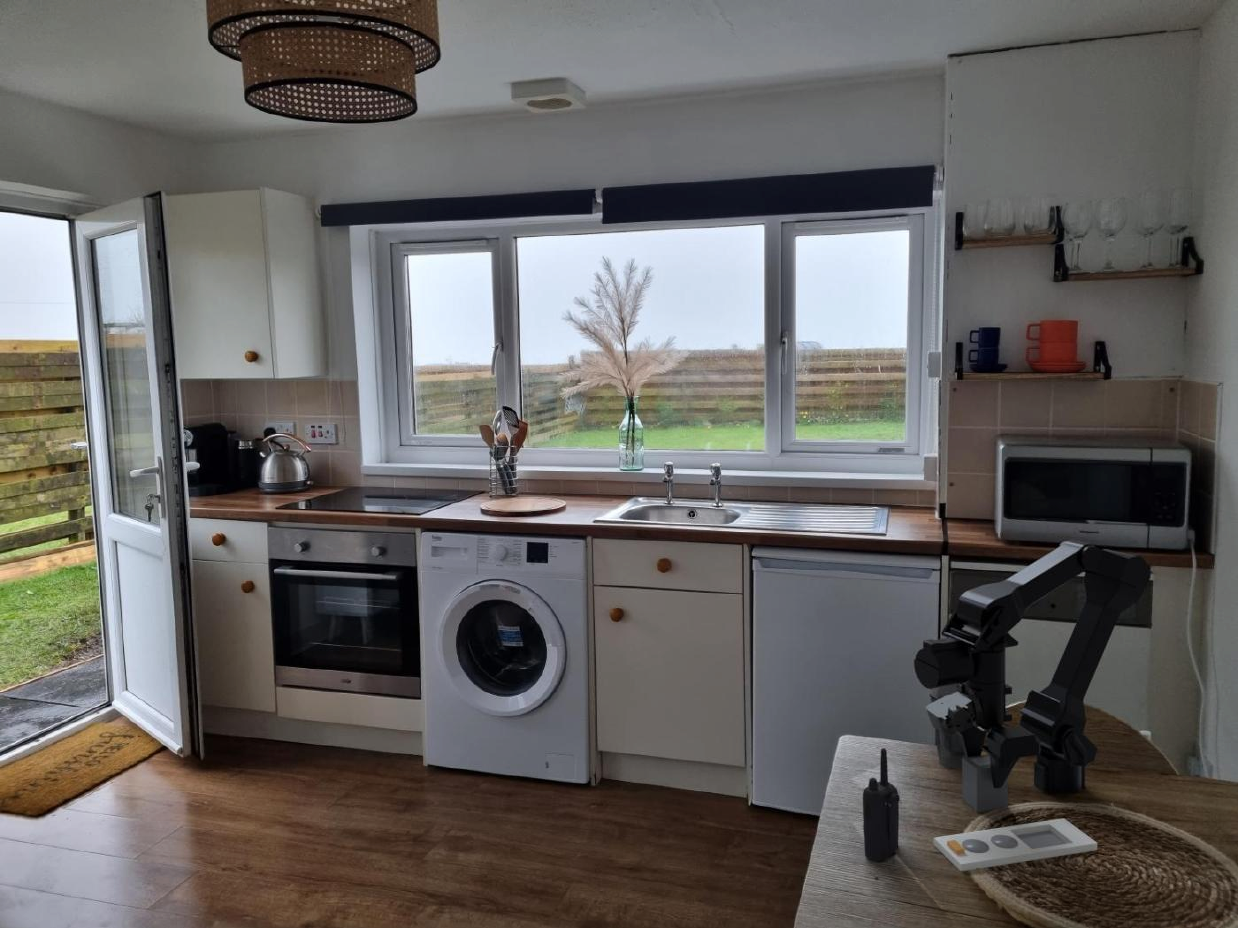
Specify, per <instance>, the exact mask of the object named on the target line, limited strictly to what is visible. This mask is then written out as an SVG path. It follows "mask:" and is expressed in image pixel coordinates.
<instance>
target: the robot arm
mask: <svg viewBox="0 0 1238 928" xmlns="http://www.w3.org/2000/svg"><path fill="white" fill-rule="evenodd" d="M1082 573H1084V576H1083V580H1082V583H1083V588H1084V594H1085V602H1084V604H1083V607H1082V609H1081V611H1080V614H1079V615H1078V618H1077V621H1076V623H1075V625H1074V627H1073V630H1072V632H1071V635H1070V637H1069V639H1068V641H1067V644H1066V646H1065V648H1064V650H1063V653H1062V655H1061V658H1060V660H1059V662H1058V665H1057V668H1056V669H1055V671H1054V674H1053V676H1052V679H1051V681H1050V682H1049V684H1048V685H1047V686H1046V687H1045V688H1043V689H1042V690H1040V691H1037V690H1035V689H1032V690H1030V691H1029V692H1028V694H1027V698H1026V701H1025V704H1024V706H1023V707H1022V708H1021V710H1019V713H1020V714H1021V717H1020V721H1019V722H1020V723H1019V725H1016V726H1005V725H1004V724H1005V722H1006V723H1007V722H1012V721H1013V714H1012V713H1011V712H1009V711H1008V710H1007V709H1006V707H1007V705H1006V701H1007V700H1006V699H1007V697H1006V696H1007V695H1012V694H1013V687H1012V686H1010V685H1009V684H1007V683H1006V682H1007V680H1006V674H1007V673H1006V671H1007V670H1006V668H1007V667H1006V661H1007V660H1006V657H1007V656H1006V655H1007V654H1006V648H1007V649H1008V648H1012V647H1017V646H1019V641H1018V640H1017V639H1015V638H1014V637H1013V636H1012V635H1011V634H1010V633H1009V632H1010V631H1011V630H1012V629H1014V628H1015V627H1016V626H1017V625H1018V624H1019V623H1020V622H1021V620H1022V619H1023V617H1024V614H1025V611H1026V610H1027V609H1028V608H1029V607H1030V606H1031V605H1033V604H1035V603H1037V602H1038V601H1040V600H1041V599H1043V598H1044V597H1046V596H1047V595H1050V593H1053V592H1054V591H1055V590H1057V589H1059V588H1060V587H1061V586H1064V585H1065V584H1067V583H1068V582H1070V581H1072V580H1074V578H1076V577H1078V576H1080V574H1082ZM1151 575H1152V572H1151V570H1150V569H1149V564H1148V562H1147V561H1146V559H1145V558H1143V557H1141V556H1138V555H1134V554H1130V553H1125V552H1122V551H1121V552H1120V551H1115V550H1111V549H1106V548H1105V549H1104V548H1103V549H1102V548H1099V547H1096V546H1095V545H1094V544H1092V543H1088V542H1083V541H1079V540H1076V539H1075V540H1074V539H1068V540H1065V541H1062V542H1061V543H1060V544H1059V546H1058V547H1057V548H1056V549H1054V550H1053V551H1050V552H1049V553H1047V554H1046V555H1044V556H1042V557H1041V558H1040V559H1038V560H1036V561H1034V562H1033V563H1031V564H1029V565H1028V566H1026V567H1025V568H1023V569H1022V570H1020V571H1018V572H1016V573H1014V574H1013V575H1012V576H1010V577H1008V578H1006V579H1005V580H1002V581H999V582H993V583H992V582H991V583H987V584H982V585H979V586H977V587H974V588H972V589H969V590H967V591H965V592H964V593H962V594H961V595H960V597H959V598H958V599H957V600H958V603H957V605H956V606H955V608H954V610H953V612H952V614H951V615H950V617H949V619H948V621H947V622H946V624H945V625H944V628H942V631H941V636H943V637H944V638H940V639H939V638H938V639H925V640H924V641H922V642H923V643H922V645H923V646H922V648H920V649H919V650H918V651H917V653H916V655H915V658H914V660H913V667H914V668H913V669H914V671H915V672H914V673H915V675H916V678H917V679H918V681H919V683H920V684H921V685H922V687H924V688H926V689H927V690H928V689H929V690H931V689H933V688H939V687H944V686H949V685H955V684H957V685H956V693H948V694H941V695H940V696H939V697H938V698H937V699H936V700H935V701H934V702H932V703H931V702H930V703H929V704H927V705H926V707H925V711H926V713H927V715H928V717H929V720H930V723H931V725H932V727H933V729H935V728H936V729H938V730H939V731H940V732H941V733H942V734H943V735H945V736H949V735H952V734H954V733H955V732H957V733H958V736H959V738H960V741H961V744H962V746H963V750H964V753H965V756H966V757H974V756H982V753H983V751H984V752H985V753H986V755H989V757H990V765H991V775H992V782H993V787H994V788H995V789H997V788H1001V787H1002V786H1003V784H1004V782H1005V781H1006V779H1007V777H1008V778H1009V775H1010V774H1011V772H1012V770H1013V769H1014V767H1015V765H1016V764H1017V762H1018V761H1019V759H1020V758H1027V757H1033V756H1036V761H1035V762H1034V764H1033V786H1034V787H1036V788H1037V789H1038V790H1040V791H1041V792H1043V793H1046V794H1047V793H1048V794H1053V793H1054V794H1060V795H1075V794H1078V793H1080V792H1081V790H1082V789H1085V788H1086V767H1087V766H1088V764H1089V763H1094V761H1095V760H1096V756H1097V753H1098V747H1097V746H1096V745H1095V744H1094V743H1093V742H1092V741H1091V740H1090V739H1089V738H1088V737H1087V736H1086V735H1085V734H1084V731H1085V729H1086V724H1087V716H1086V715H1087V714H1086V711H1085V710H1086V709H1085V702H1084V701H1085V700H1084V699H1085V696H1086V694H1087V691H1089V690H1088V689H1089V687H1090V685H1091V683H1092V680H1093V679H1094V678H1093V677H1094V676H1095V673H1096V671H1097V669H1098V666H1099V664H1100V662H1101V660H1102V658H1103V657H1102V656H1103V654H1104V652H1105V649H1106V648H1107V645H1108V643H1109V640H1110V638H1111V636H1112V633H1113V631H1114V629H1115V627H1116V624H1117V623H1118V619H1119V617H1120V616H1121V614H1122V613H1123V612H1125V611H1126V610H1127V609H1129V608H1130V607H1132V606H1133V605H1134V604H1136V603H1137V602H1139V600H1140V598H1141V596H1142V595H1143V593H1144V591H1145V590H1146V588H1147V586H1148V585H1149V582H1150V580H1151ZM964 627H965V628H967V629H970V630H972V631H975V632H978V633H979V635H977V634H975V633H973V632H970V631H968V630H965V629H964ZM985 741H986V745H984V744H985Z"/></svg>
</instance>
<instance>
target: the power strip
mask: <svg viewBox="0 0 1238 928" xmlns="http://www.w3.org/2000/svg"><path fill="white" fill-rule="evenodd" d="M933 845H934V846H935V847H936V849H937V850H939V851H940V852H941V853H942V854H943V855H944V856H945V858H947V859H948V860H949V861H950V863H952V864H953V865H954V867H956V868H957V869H958V870H959V872H966V871H973V870H977V869H976V868H979V869H985V868H991V867H997V866H1005V865H1010V864H1017V863H1023V862H1028V861H1036V860H1041V859H1048V858H1055V857H1061V856H1068V855H1075V854H1079V853H1087V852H1093V851H1098V842H1097V841H1095V839H1092V837H1090V836H1088V835H1087V834H1086V833H1085V832H1083V831H1082V830H1080V829H1079V828H1078V827H1077V826H1076V825H1074V824H1072V823H1071V822H1069V820H1067V819H1066V818H1064V817H1063V818H1056V819H1049V820H1044V821H1035V822H1030V823H1022V824H1016V825H1010V826H1003V827H997V828H996V827H995V828H990V829H984V830H976V831H969V832H961V833H957V834H956V833H955V834H949V835H941V836H938V837H937V836H936V837H933Z"/></svg>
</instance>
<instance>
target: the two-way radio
mask: <svg viewBox="0 0 1238 928" xmlns="http://www.w3.org/2000/svg"><path fill="white" fill-rule="evenodd" d="M879 765H880V766H879V767H880V773H879V774H880V775H879V777H880V780H879V781H877V780H878V779H877V778H875V777H871V778H869V781H868V786H867V787H865V788H864V789H863V792H862V817H863V819H862V820H863V827H862V829H863V841H864V856H865V857H866V858H868V859H869V860H871V861H874V862H875V861H876V862H882V861H886V860H889V859H891V858H892V857H894V856H896V855H897V853H896V851H897V850H898V849H899V828H900V827H899V824H900V823H899V820H900V819H899V818H900V817H899V816H900V815H899V814H900V808H899V807H900V806H899V805H900V804H899V803H900V799H901V796H900V795H899V793H898V789H897V787H896V786H895V785H894V784H893V783H890V782H889V774H888V769H889V768H888V754H887V749H886V748H884V747H883V748H881V749H880V763H879Z"/></svg>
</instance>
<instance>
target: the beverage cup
mask: <svg viewBox="0 0 1238 928" xmlns="http://www.w3.org/2000/svg"><path fill="white" fill-rule="evenodd" d="M956 685H957V684H955V685H949V686H944V687H939V688H933V689H930V692H929V697H930V703H932V702H934V701H935V700H936V699H937V698H938V697H939V696H940V695H941V694H948V693H956ZM934 730H935V739H936V740H935V741H936V753H937V757H938V762H939V764H940V765H942V766H944V767H947V768H951V769H952V768H953V769H962V758H966V756H965V753H964V750H963V746H962V744H961V741H960V738H959V736H958V733H957V732H955V733H954V734H952V735H949V736H945V735H943V734H942V733H941V732H940V731H939V730H938V729H936V728H934Z"/></svg>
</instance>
